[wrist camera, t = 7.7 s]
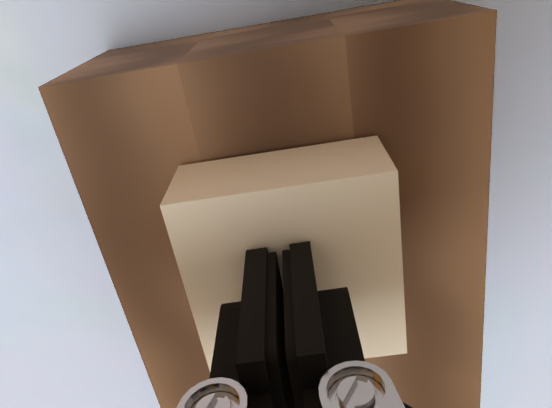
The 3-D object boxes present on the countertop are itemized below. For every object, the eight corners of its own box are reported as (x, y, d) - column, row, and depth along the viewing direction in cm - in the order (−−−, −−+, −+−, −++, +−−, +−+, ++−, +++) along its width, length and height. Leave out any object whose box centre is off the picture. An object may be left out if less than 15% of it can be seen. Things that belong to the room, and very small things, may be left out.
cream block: (353, 95, 17) (398, 171, 11) (365, 229, 20) (407, 353, 13) (200, 119, 18) (159, 205, 11) (231, 247, 20) (211, 376, 14)
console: (428, -5, 17) (496, 10, 12) (435, 414, 27) (474, 525, 22) (108, 50, 18) (38, 87, 13) (226, 437, 28) (215, 550, 23)
